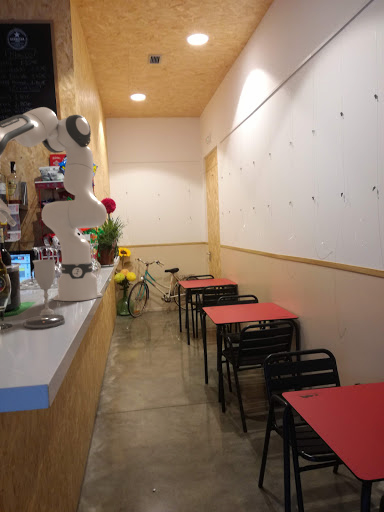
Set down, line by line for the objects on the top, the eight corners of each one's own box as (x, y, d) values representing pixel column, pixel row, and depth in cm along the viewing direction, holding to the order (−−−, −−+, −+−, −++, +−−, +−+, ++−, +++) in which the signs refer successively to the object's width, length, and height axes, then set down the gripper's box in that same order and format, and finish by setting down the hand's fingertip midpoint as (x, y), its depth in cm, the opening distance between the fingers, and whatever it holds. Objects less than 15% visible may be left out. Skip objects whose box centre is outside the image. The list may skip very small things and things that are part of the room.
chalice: (63, 315, 123) (60, 259, 121) (47, 320, 116) (44, 261, 115) (46, 313, 126) (43, 259, 124) (30, 318, 119) (26, 261, 118)
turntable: (26, 321, 115) (26, 316, 115) (65, 318, 118) (64, 312, 118) (22, 330, 105) (22, 324, 104) (64, 326, 108) (64, 320, 108)
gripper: (-28, 175, 106) (8, 212, 108) (-5, 189, 127) (26, 220, 128) (-46, 190, 106) (-9, 227, 107) (-20, 202, 126) (11, 233, 127)
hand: (10, 223), depth 118 cm, fingers open, 8 cm apart
